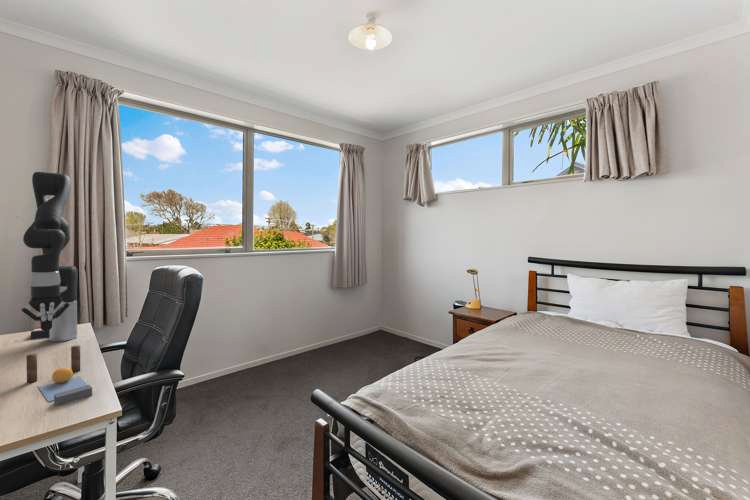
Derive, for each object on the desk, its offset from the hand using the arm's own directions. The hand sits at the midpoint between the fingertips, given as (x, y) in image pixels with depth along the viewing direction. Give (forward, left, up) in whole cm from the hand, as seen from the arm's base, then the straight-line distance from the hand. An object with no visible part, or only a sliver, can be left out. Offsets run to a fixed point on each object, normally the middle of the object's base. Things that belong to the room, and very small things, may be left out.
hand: (46, 330), depth 119 cm
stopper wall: (+37, 0, -13) cm, 39 cm away
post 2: (+13, +5, -13) cm, 19 cm away
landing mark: (+27, 0, -13) cm, 30 cm away
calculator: (-48, +9, -14) cm, 51 cm away
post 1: (+13, -6, -13) cm, 19 cm away
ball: (+21, 0, -11) cm, 23 cm away
